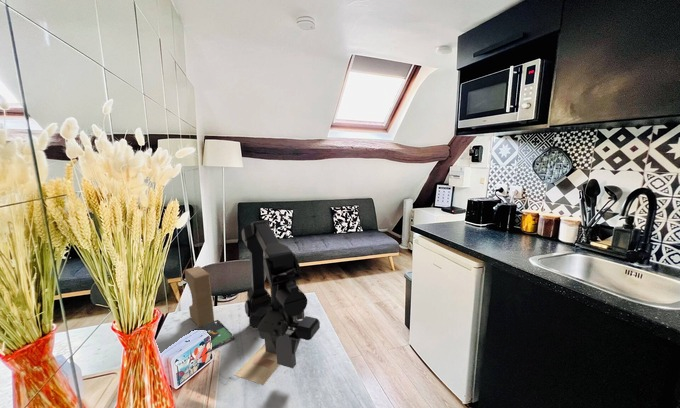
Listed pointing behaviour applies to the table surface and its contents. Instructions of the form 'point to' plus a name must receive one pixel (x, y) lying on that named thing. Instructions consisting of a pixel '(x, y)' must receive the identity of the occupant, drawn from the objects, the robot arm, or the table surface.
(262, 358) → the board
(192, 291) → the decorative block
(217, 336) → the disk drive
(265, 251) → the robot arm
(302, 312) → the domino
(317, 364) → the table surface
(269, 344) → the domino
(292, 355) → the domino
